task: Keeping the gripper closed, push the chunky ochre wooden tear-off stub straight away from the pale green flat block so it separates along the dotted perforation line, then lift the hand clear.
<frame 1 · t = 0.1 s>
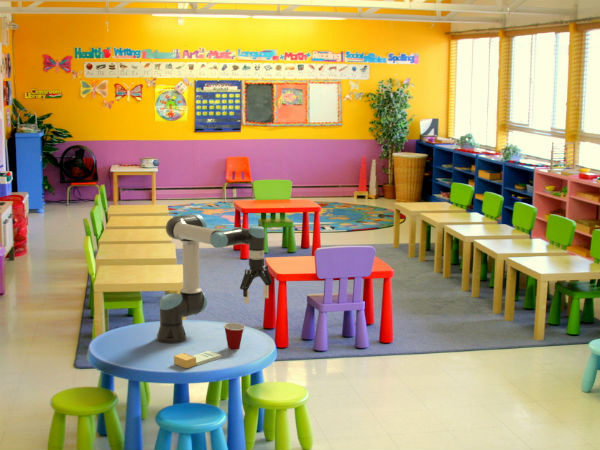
hand: (256, 300, 399), 28 cm above the table, fingers open, 13 cm apart
plastic cup: (234, 348, 413), on the table
pale green flat block: (202, 359, 395), on the table
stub: (185, 360, 387), point 2 cm above the table, slide at 0.0 cm
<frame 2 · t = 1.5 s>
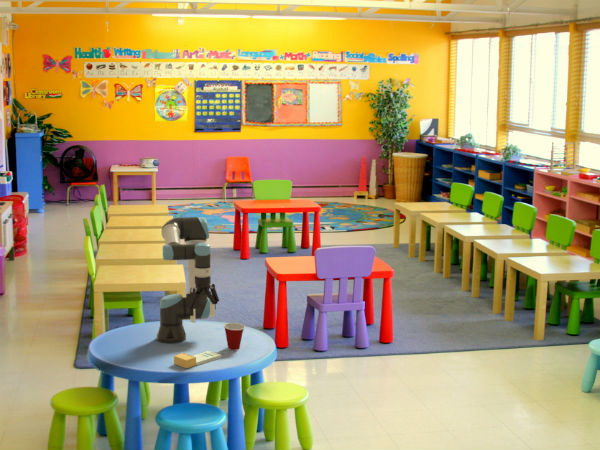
hand: (202, 319, 392), 20 cm above the table, fingers open, 12 cm apart
nothing on the table moved.
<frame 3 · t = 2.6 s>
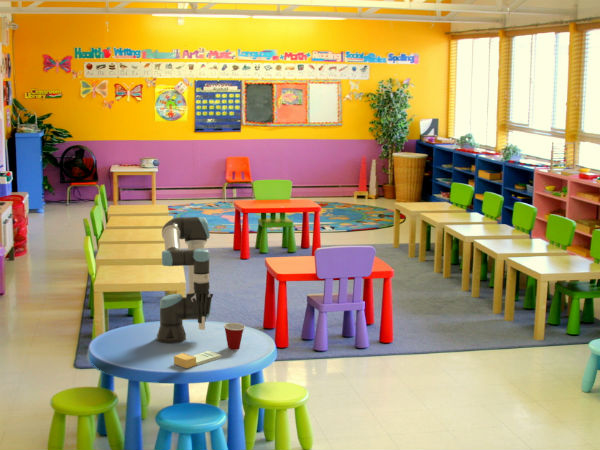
hand: (201, 329, 392), 16 cm above the table, fingers closed
nothing on the table moved.
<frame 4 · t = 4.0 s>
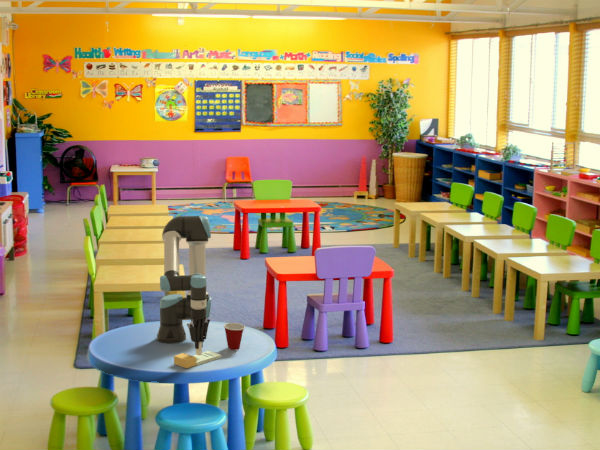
hand: (198, 354, 393), 3 cm above the table, fingers closed
nothing on the table moved.
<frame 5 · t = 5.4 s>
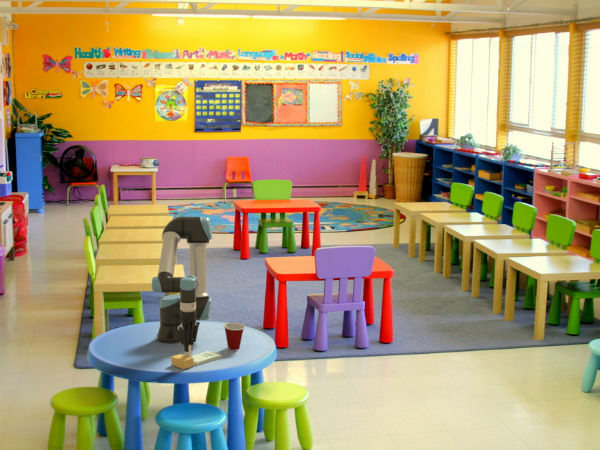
hand: (188, 357, 388), 3 cm above the table, fingers closed
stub: (182, 361, 386), point 2 cm above the table, slide at 1.6 cm, touching gripper
everything else where it was.
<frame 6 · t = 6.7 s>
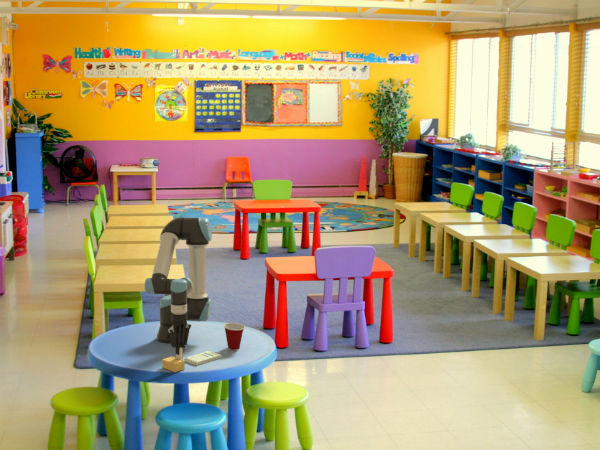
hand: (179, 360, 384), 3 cm above the table, fingers closed
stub: (173, 364, 381), point 2 cm above the table, slide at 7.1 cm, touching gripper
everything else where it was.
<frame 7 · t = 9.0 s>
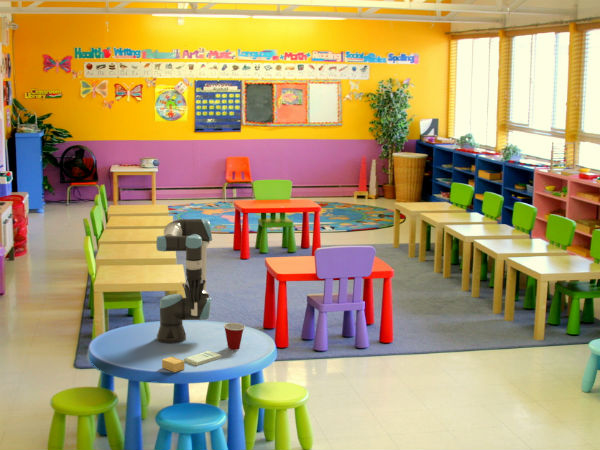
hand: (194, 315, 393), 22 cm above the table, fingers closed
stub: (173, 364, 381), point 2 cm above the table, slide at 7.2 cm
everything else where it was.
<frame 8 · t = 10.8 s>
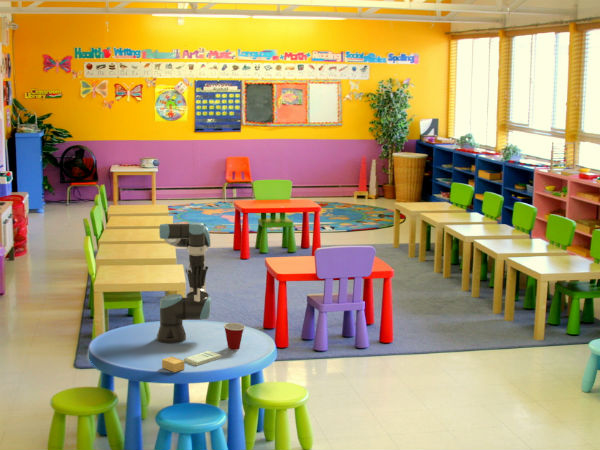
hand: (197, 300, 402), 26 cm above the table, fingers closed
nothing on the table moved.
at the end: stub slide at 7.2 cm; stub touching nothing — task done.
